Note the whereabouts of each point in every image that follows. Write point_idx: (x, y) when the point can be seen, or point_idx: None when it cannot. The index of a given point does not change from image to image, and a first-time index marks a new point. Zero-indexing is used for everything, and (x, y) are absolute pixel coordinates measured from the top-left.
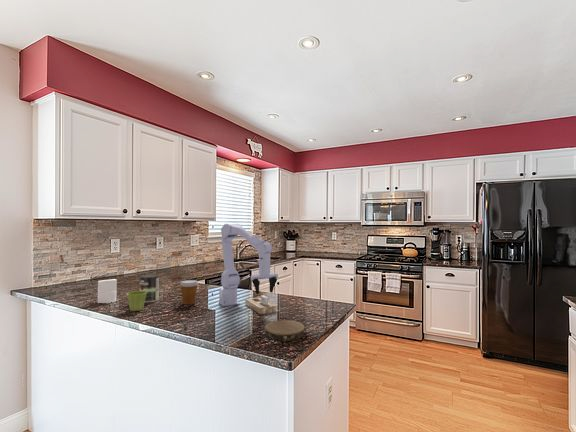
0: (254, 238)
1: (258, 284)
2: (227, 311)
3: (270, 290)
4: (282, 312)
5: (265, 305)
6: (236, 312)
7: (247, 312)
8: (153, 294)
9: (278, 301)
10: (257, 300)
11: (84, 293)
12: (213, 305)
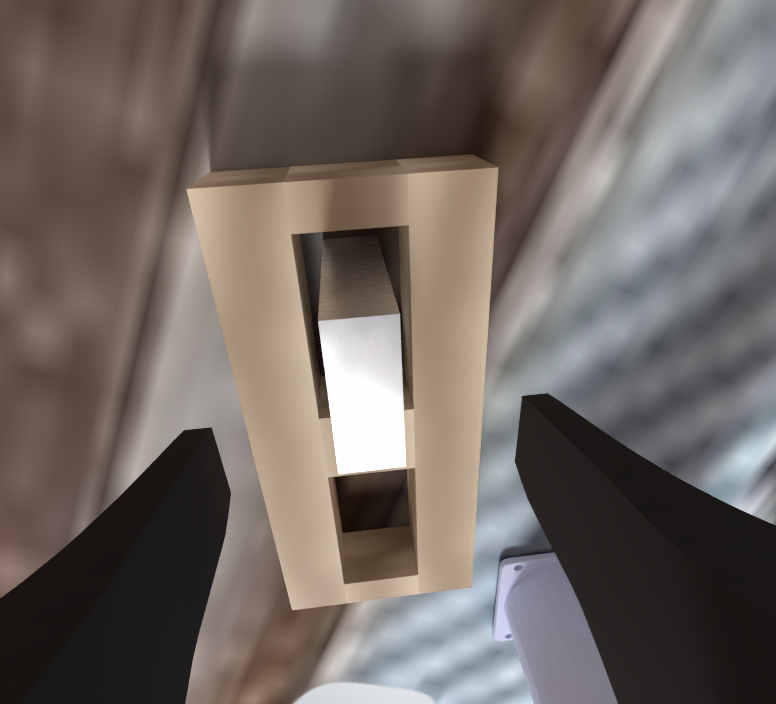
0: None
1: (727, 548)
2: (709, 402)
3: (214, 495)
4: (124, 96)
5: (369, 264)
6: (662, 341)
7: (566, 298)
8: None
9: None
10: (342, 560)
11: None
12: None
